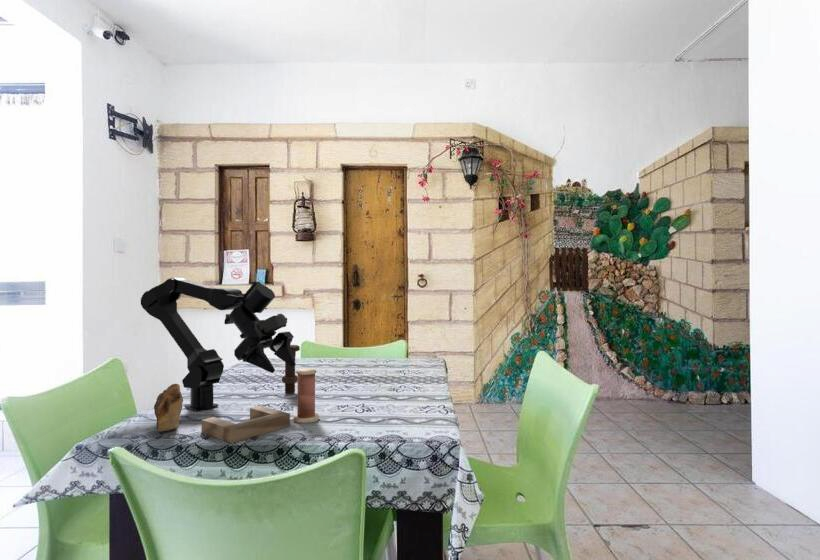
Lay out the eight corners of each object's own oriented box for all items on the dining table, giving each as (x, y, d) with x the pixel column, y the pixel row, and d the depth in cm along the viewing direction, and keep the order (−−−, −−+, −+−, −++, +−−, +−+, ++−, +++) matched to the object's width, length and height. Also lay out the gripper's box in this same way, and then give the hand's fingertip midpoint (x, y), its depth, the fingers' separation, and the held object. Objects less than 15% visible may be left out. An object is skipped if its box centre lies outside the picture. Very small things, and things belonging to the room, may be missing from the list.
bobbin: (288, 420, 121) (288, 371, 121) (307, 414, 126) (307, 367, 126) (304, 424, 117) (305, 374, 117) (324, 418, 122) (324, 370, 123)
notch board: (201, 432, 111) (201, 419, 111) (259, 417, 124) (260, 405, 124) (231, 443, 104) (231, 429, 104) (289, 425, 116) (290, 413, 116)
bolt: (293, 395, 147) (293, 347, 147) (278, 395, 148) (278, 346, 148) (301, 391, 153) (301, 344, 153) (286, 390, 154) (287, 344, 154)
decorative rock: (184, 433, 110) (184, 387, 110) (154, 438, 107) (155, 390, 107) (180, 420, 120) (180, 378, 120) (153, 423, 117) (153, 380, 118)
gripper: (244, 305, 117) (282, 352, 113) (287, 302, 135) (321, 343, 131) (218, 336, 120) (254, 383, 116) (264, 329, 137) (297, 370, 134)
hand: (284, 368), depth 124 cm, fingers open, 9 cm apart
